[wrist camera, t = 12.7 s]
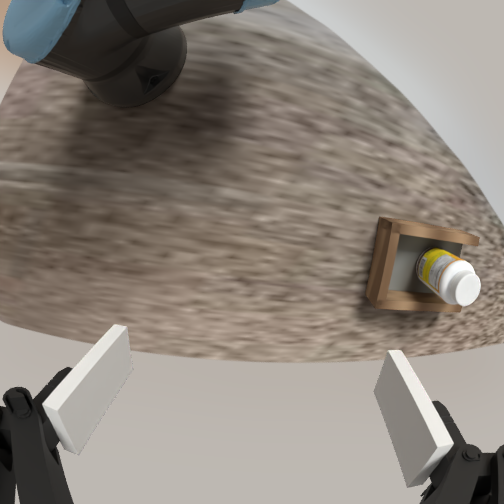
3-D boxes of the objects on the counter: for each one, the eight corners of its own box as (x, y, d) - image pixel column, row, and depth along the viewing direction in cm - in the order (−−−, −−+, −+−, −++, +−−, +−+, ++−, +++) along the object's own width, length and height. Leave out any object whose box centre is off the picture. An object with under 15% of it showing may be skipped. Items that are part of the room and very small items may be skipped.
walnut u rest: (461, 230, 37) (479, 237, 32) (445, 299, 40) (460, 312, 35) (379, 216, 37) (392, 222, 33) (365, 293, 40) (375, 308, 36)
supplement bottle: (450, 270, 37) (489, 296, 28) (421, 290, 38) (455, 321, 29) (439, 238, 36) (480, 257, 27) (409, 258, 38) (444, 284, 28)
